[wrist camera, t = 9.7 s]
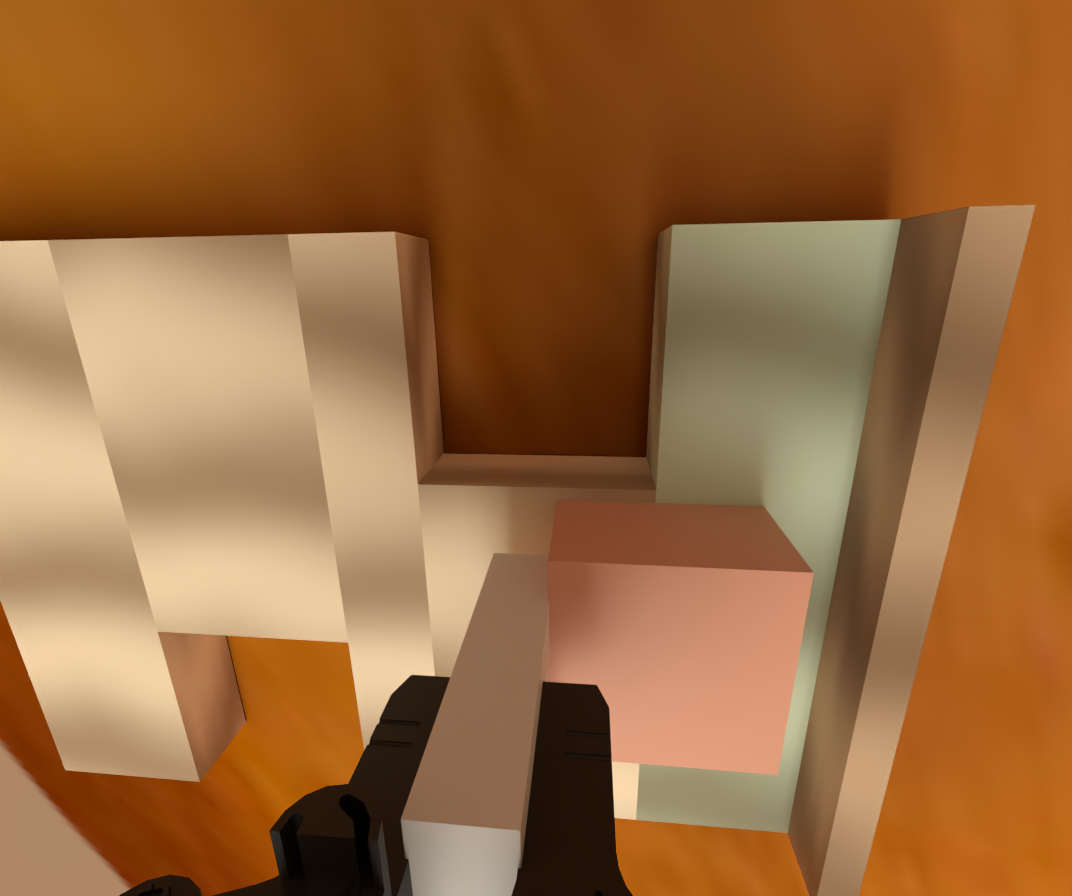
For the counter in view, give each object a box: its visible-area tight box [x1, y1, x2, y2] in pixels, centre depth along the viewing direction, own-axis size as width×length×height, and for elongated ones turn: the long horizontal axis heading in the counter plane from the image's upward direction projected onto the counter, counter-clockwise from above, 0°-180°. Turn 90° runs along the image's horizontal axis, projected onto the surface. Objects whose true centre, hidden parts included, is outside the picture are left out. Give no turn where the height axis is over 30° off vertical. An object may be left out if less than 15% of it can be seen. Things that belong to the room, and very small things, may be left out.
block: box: [548, 500, 814, 775], centre depth 12 cm, size 5×5×3 cm
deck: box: [0, 205, 1035, 896], centre depth 15 cm, size 17×25×4 cm
